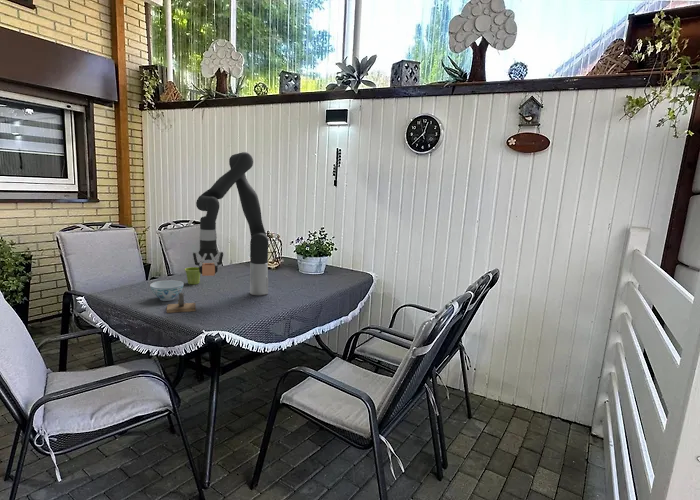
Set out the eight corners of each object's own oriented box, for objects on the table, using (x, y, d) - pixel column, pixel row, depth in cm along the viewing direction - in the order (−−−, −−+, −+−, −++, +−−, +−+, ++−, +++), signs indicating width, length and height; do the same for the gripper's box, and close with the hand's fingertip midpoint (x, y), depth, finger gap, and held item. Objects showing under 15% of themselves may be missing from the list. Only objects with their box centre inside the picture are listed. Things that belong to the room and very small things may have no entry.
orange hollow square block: (214, 272, 188) (214, 262, 188) (214, 275, 183) (214, 265, 183) (202, 273, 186) (202, 263, 186) (202, 275, 181) (202, 265, 180)
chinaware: (174, 293, 202) (174, 278, 201) (189, 299, 192) (189, 284, 191) (145, 298, 190) (144, 283, 189) (159, 305, 181) (158, 289, 180)
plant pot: (190, 286, 216) (190, 271, 214) (181, 283, 221) (181, 268, 220) (205, 283, 223) (205, 269, 222) (196, 280, 229) (196, 266, 227)
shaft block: (195, 305, 183) (195, 290, 182) (195, 311, 176) (195, 295, 175) (167, 307, 179) (167, 291, 178) (166, 312, 172) (166, 296, 170)
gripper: (223, 237, 188) (223, 271, 191) (191, 237, 183) (192, 272, 185) (224, 239, 181) (224, 274, 184) (191, 239, 176) (192, 275, 179)
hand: (208, 273), depth 185 cm, fingers closed on orange hollow square block, 5 cm apart
